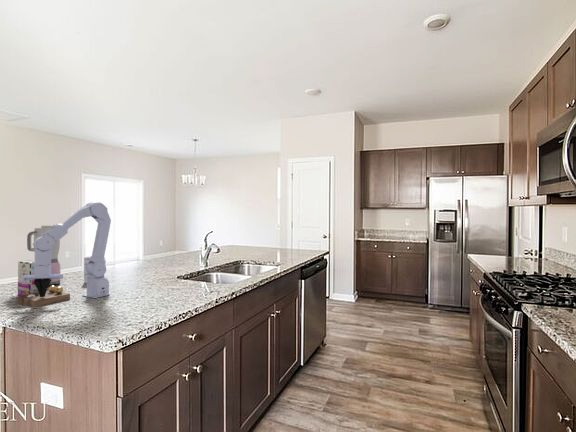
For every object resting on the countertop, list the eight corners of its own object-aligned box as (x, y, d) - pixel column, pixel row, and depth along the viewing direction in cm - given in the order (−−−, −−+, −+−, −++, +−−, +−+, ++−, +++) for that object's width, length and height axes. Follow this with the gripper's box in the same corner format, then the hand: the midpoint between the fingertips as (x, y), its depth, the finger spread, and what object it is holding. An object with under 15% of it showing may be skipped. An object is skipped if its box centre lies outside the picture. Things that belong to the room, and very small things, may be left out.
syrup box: (93, 283, 184) (94, 257, 184) (83, 283, 184) (83, 257, 184) (99, 281, 190) (100, 255, 190) (89, 281, 190) (90, 255, 190)
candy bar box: (42, 297, 153) (42, 261, 153) (29, 299, 148) (29, 262, 148) (29, 294, 158) (29, 259, 158) (16, 296, 154) (17, 260, 154)
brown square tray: (69, 299, 150) (70, 293, 150) (34, 306, 137) (34, 300, 137) (51, 295, 156) (51, 290, 156) (15, 302, 143) (15, 296, 143)
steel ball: (27, 293, 146) (34, 297, 148) (23, 300, 143) (30, 303, 145) (32, 292, 145) (38, 295, 147) (28, 298, 142) (35, 301, 144)
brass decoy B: (58, 292, 152) (58, 285, 152) (50, 293, 149) (50, 286, 149) (54, 291, 154) (54, 284, 154) (46, 292, 151) (46, 285, 151)
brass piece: (64, 293, 150) (64, 286, 150) (57, 295, 147) (57, 287, 147) (60, 292, 151) (60, 285, 151) (53, 294, 149) (53, 287, 149)
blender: (51, 281, 186) (52, 224, 186) (65, 284, 181) (66, 225, 181) (19, 287, 171) (20, 225, 171) (34, 289, 167) (34, 226, 166)
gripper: (65, 262, 148) (65, 293, 148) (26, 264, 143) (26, 295, 143) (60, 265, 141) (60, 297, 141) (19, 266, 137) (18, 299, 137)
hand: (42, 296), depth 142 cm, fingers closed
